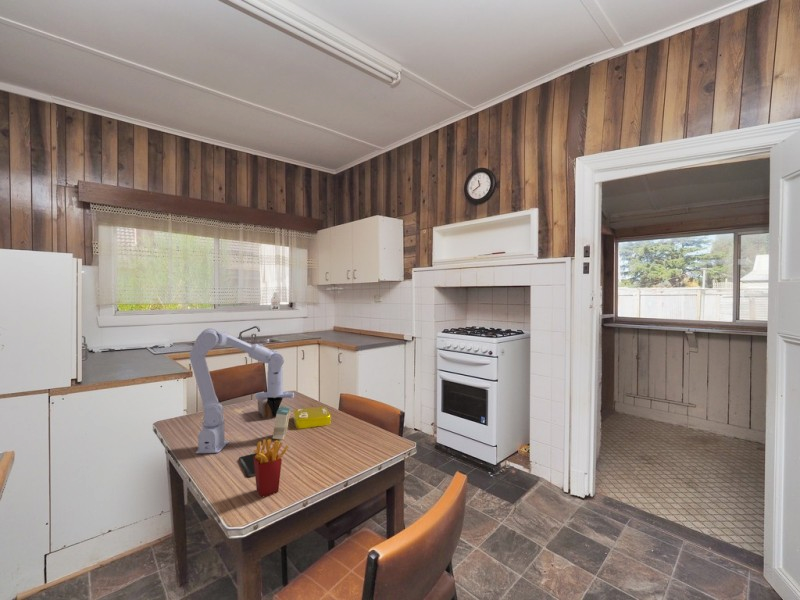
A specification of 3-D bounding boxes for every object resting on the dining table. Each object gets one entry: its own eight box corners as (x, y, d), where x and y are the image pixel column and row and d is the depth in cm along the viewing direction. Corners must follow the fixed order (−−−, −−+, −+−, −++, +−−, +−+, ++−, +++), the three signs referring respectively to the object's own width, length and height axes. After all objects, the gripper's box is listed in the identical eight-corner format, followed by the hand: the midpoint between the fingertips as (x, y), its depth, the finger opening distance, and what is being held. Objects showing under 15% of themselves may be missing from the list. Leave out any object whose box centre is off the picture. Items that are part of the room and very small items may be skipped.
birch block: (282, 439, 138) (287, 412, 138) (272, 438, 137) (276, 411, 137) (286, 433, 144) (290, 407, 144) (276, 432, 143) (280, 406, 143)
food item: (255, 412, 170) (255, 391, 169) (272, 409, 174) (272, 389, 174) (262, 420, 158) (262, 399, 158) (280, 417, 163) (280, 396, 163)
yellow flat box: (331, 425, 154) (331, 414, 154) (296, 430, 148) (296, 419, 148) (325, 414, 168) (325, 404, 168) (293, 418, 162) (293, 408, 162)
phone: (248, 475, 109) (238, 457, 121) (248, 479, 109) (238, 460, 121) (273, 468, 114) (261, 451, 126) (273, 472, 114) (261, 454, 126)
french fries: (258, 500, 97) (258, 447, 97) (251, 487, 104) (251, 437, 104) (289, 490, 103) (289, 439, 102) (280, 478, 109) (281, 430, 109)
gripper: (295, 379, 145) (295, 412, 145) (259, 380, 143) (259, 412, 144) (291, 384, 138) (291, 418, 138) (253, 384, 136) (253, 419, 137)
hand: (275, 416), depth 140 cm, fingers closed
